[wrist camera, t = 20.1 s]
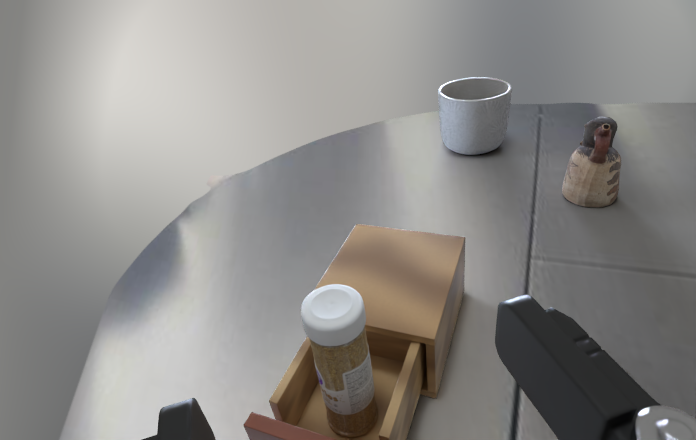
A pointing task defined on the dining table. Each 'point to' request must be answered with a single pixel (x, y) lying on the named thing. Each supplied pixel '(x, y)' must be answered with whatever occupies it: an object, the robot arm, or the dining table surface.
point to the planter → (474, 114)
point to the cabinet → (406, 287)
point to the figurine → (594, 166)
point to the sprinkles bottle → (341, 357)
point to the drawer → (309, 407)
